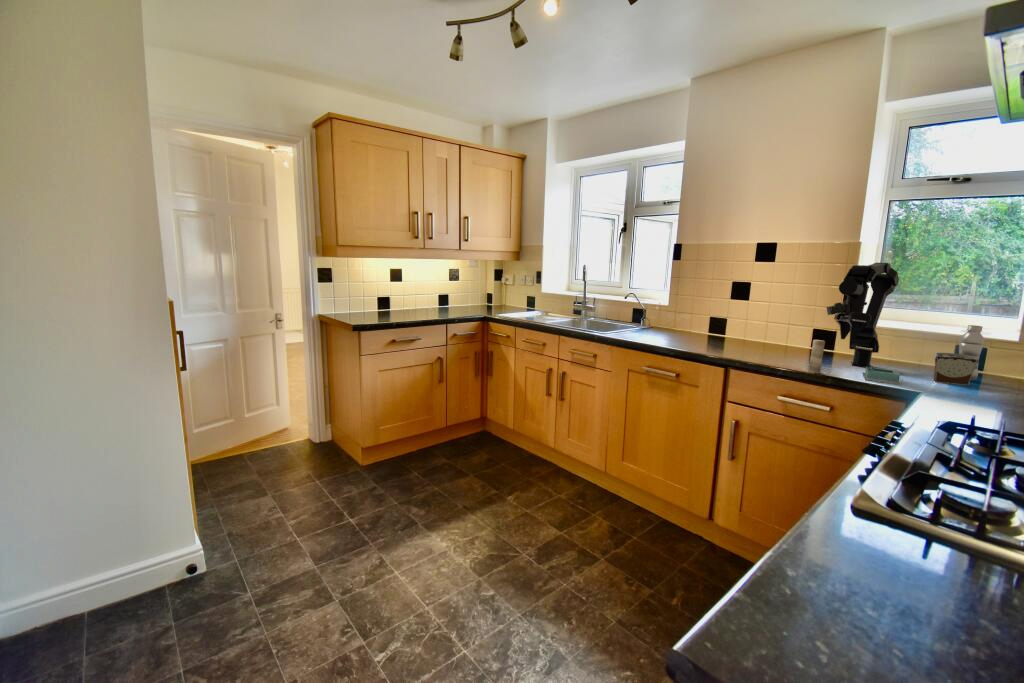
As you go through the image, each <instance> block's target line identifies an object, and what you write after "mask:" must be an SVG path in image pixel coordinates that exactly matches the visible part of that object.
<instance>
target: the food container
mask: <svg viewBox="0 0 1024 683" xmlns="http://www.w3.org/2000/svg"><path fill="white" fill-rule="evenodd" d="M932 360H934V369H933V370H934V372H933V382H934V381H935V382H934V383H939V382H943V383H942V384H949V383H951V385H959V384H961V385H962V386H969V384H970V382H971V381H972V380H971V377H972V374H973V371H974V368H975V366H976V363H978V365H979V363H980V362H979V360H980V359H979V360H978V357H973V356H968V355H962V354H959V353H951V352H936V353H935V354H934V355H933V356H932ZM970 380H971V381H970Z"/></svg>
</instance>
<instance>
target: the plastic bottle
mask: <svg viewBox="0 0 1024 683" xmlns="http://www.w3.org/2000/svg"><path fill="white" fill-rule="evenodd" d="M966 331H967V332H965V333H964V334H963V335H961V336H960V337H959V340H958V341H959V345H958V354H962V355H968V356H973V357H978V360H980V356H981V353H982V350H983V348H984V345H985V342H986V341H985V338H984V336H983V335H982V333H981V332H983V326H982V325H975V324H974V325H967V328H966ZM978 368H979V364H978V363H976V366H975V368H974V371H973V374H972V377H971V380H970V382H971V381H975V380H977V378H978V376H979V369H978Z"/></svg>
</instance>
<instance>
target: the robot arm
mask: <svg viewBox="0 0 1024 683" xmlns="http://www.w3.org/2000/svg"><path fill="white" fill-rule="evenodd" d="M869 283H870V285H869ZM899 283H900V277H899V272H898V271H897V270H895V269H894V268H893V267H892V266H891V264H890V263H888V262H874V263H872V264H869V265H860V264H859V265H857V264H854V265H851V268H849V270H848V271H847V273H846V275H845V277H844V278H843V281H842V282H841V283H840V284H839V285H838V290H839V293H841V294H842V295H844V296H846V300H844V301H843V302H836V303H834V304H833V305H831V306H826V311H827V312H826V313H827V316H830V315H831V316H832V315H834V318H833V320H835V323H837V324H838V325H839V332H840V333H839V334H840V339H841V340H846V337H847V336H848V335H849V350H854V351H853V358H852V361H850V365H851V364H852V365H851V366H855V365H856V366H857V367H863V366H864V367H865V368H866V367H873V366H872V364H871V361H872V355H873V354H875V353H877V354H878V353H879V351H880V345H879V344H880V343H879V339H878V338H879V337H878V333H877V331H876V327H877V326H878V323H879V319H880V316H881V313H882V311H883V308H884V305H885V302H886V299H887V297H888V296H889V295H891V294H892V293H893V292H895V289H896V288H897V286H898V285H899ZM869 288H871V289H872V295H871V298H870V300H869V303H868V302H867V300H866V299H867V295H868V291H869ZM865 306H867V308H866V312H864V308H865Z"/></svg>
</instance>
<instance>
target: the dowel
mask: <svg viewBox="0 0 1024 683" xmlns="http://www.w3.org/2000/svg"><path fill="white" fill-rule="evenodd" d="M825 344H826V341H825V340H823V339H822V340H820V339H813V340H812V347H811V352H810V353H811V354H810V359H809V365H808V373H810V374H815V373H817V374H816V375H818V373H820V374H821V369H822V364H823V356H824V350H825Z"/></svg>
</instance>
